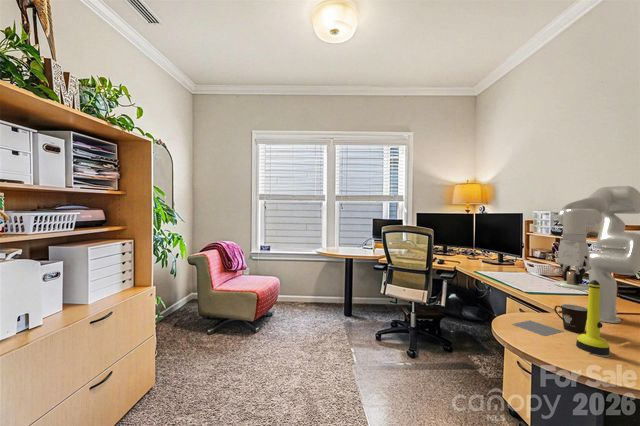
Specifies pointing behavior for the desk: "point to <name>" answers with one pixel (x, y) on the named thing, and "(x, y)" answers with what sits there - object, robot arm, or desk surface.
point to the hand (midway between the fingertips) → (572, 281)
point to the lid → (571, 282)
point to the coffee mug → (573, 317)
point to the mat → (537, 328)
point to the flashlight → (593, 325)
